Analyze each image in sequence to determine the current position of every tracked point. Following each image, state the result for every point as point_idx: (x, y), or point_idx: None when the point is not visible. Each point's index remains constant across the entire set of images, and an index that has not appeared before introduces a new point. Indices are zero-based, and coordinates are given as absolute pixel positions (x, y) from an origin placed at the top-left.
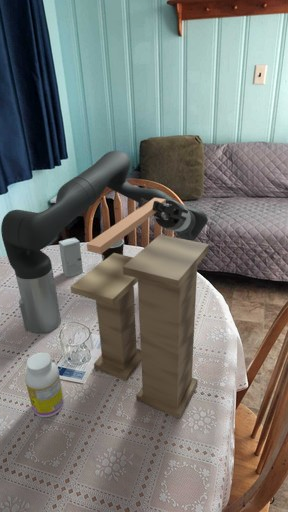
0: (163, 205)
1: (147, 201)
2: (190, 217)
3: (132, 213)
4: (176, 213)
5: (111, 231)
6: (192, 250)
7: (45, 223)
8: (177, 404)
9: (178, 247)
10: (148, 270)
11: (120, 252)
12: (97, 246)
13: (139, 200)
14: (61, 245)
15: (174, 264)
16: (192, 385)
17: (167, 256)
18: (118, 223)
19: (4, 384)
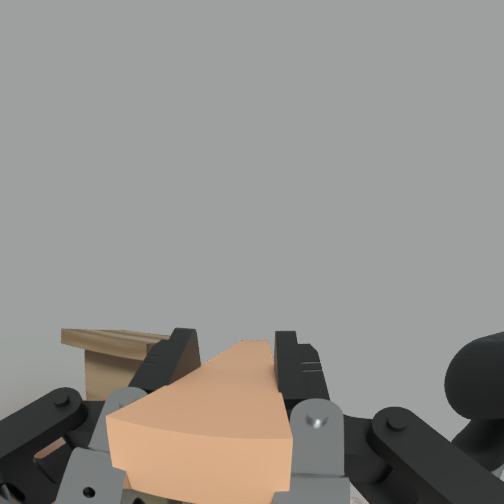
0: (136, 374)
1: (277, 375)
2: None
3: (268, 357)
4: (37, 465)
5: (255, 344)
6: (93, 331)
7: (471, 364)
8: None
9: (113, 335)
10: (156, 334)
11: None
12: (247, 340)
13: (307, 346)
14: None
15: (125, 332)
16: None
17: (133, 335)
18: (265, 348)
19: (359, 498)
